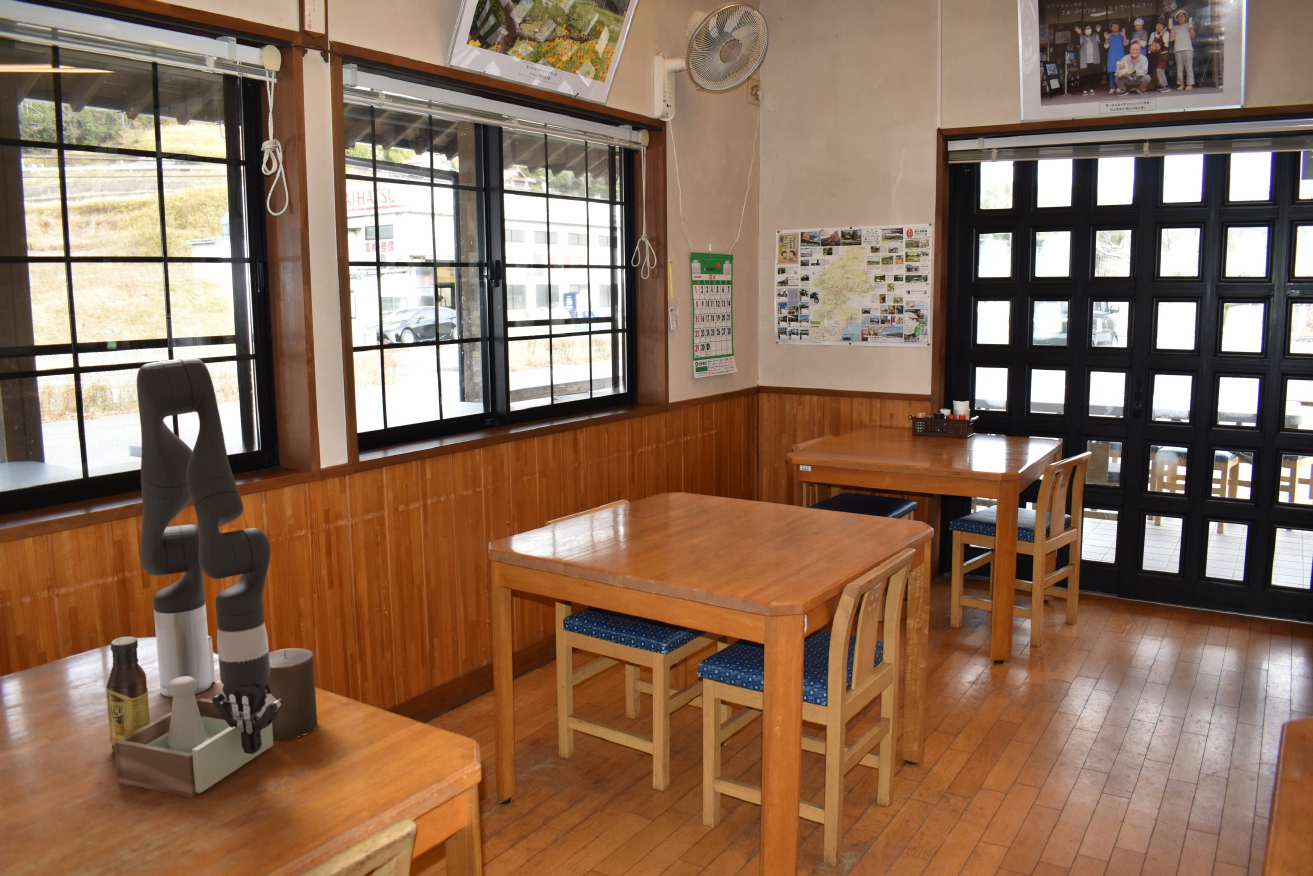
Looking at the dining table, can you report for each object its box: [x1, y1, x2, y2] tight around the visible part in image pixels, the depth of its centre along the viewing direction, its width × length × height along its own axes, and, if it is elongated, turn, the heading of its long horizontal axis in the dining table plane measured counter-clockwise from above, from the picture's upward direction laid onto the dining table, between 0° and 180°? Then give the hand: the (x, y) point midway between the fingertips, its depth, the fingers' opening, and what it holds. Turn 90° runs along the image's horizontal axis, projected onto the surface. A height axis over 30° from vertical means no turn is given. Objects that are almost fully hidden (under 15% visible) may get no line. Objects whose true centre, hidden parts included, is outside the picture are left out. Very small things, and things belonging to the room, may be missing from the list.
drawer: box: [146, 706, 274, 794], centre depth 165 cm, size 17×15×7 cm
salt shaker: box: [168, 676, 206, 753], centre depth 165 cm, size 6×6×13 cm
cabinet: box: [114, 697, 234, 799], centre depth 165 cm, size 18×15×7 cm
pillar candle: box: [264, 647, 318, 741], centre depth 178 cm, size 10×10×15 cm
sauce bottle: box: [105, 636, 151, 753], centre depth 170 cm, size 7×6×20 cm
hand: (252, 751), depth 162 cm, fingers closed
